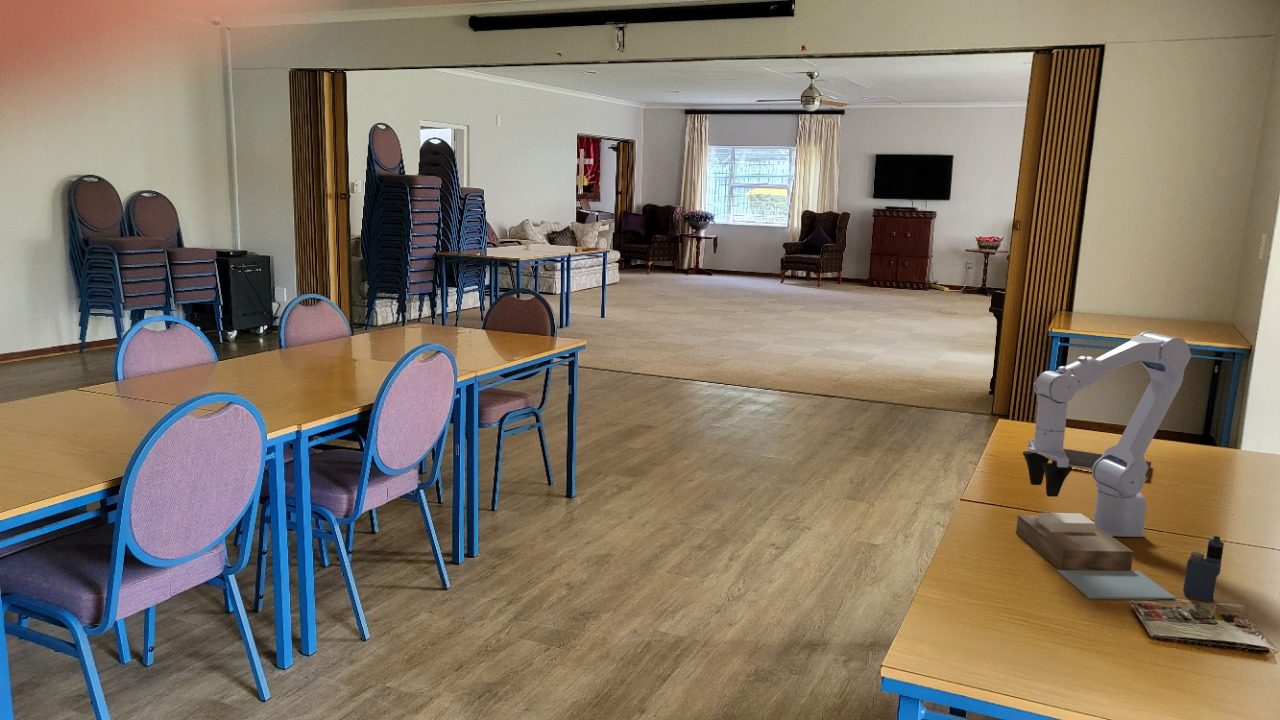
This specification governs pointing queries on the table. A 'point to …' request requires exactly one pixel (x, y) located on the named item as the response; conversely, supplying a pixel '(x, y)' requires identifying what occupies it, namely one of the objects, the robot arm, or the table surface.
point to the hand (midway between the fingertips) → (1043, 490)
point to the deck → (1075, 547)
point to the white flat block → (1066, 522)
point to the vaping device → (1203, 572)
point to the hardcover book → (1088, 460)
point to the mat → (1115, 584)
